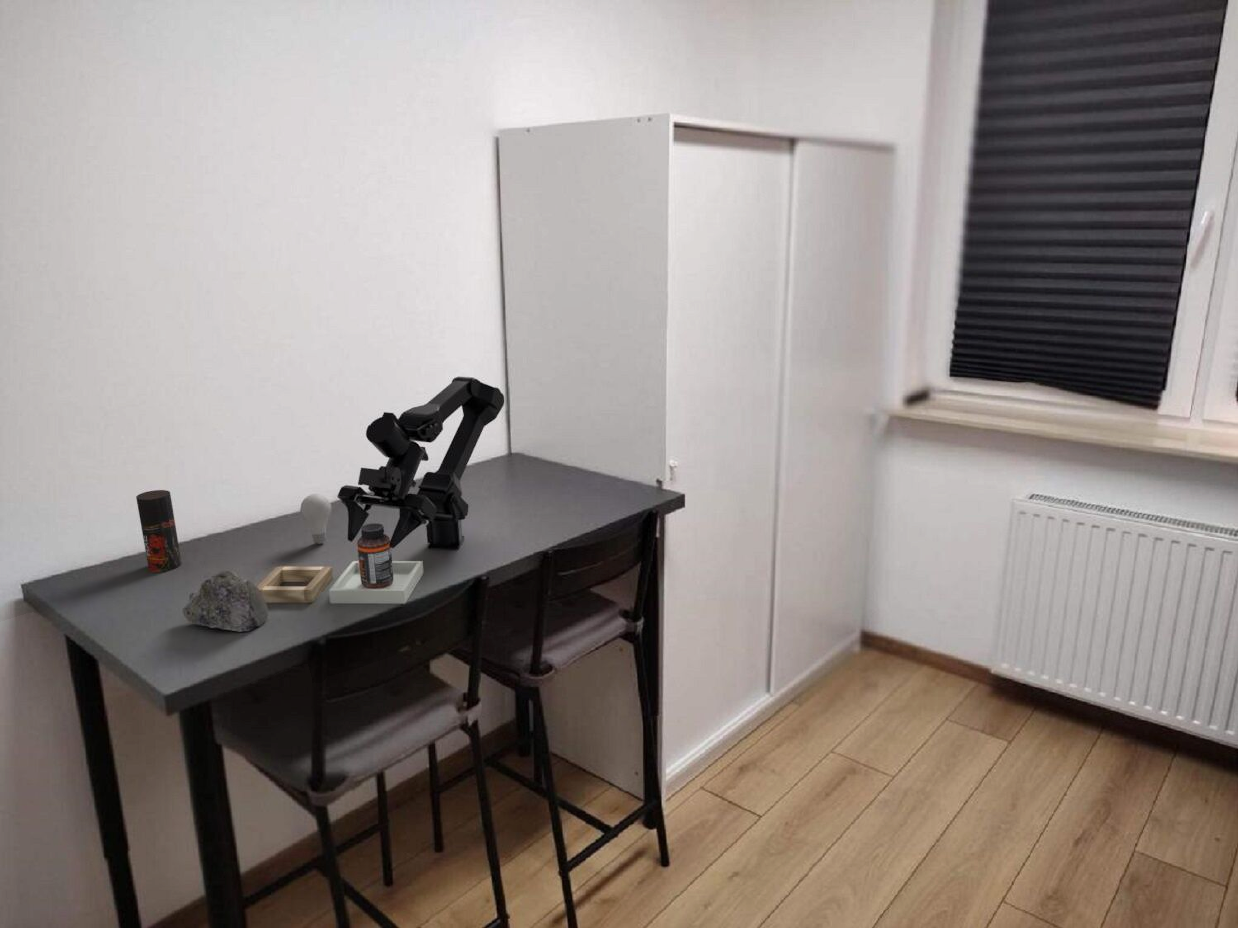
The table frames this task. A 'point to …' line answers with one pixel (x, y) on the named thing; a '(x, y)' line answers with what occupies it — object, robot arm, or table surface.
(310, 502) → the lightbulb
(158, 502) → the deodorant
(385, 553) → the supplement bottle
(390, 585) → the tray
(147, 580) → the table surface
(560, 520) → the table surface
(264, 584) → the collar socket
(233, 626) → the mineral rock
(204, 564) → the table surface
